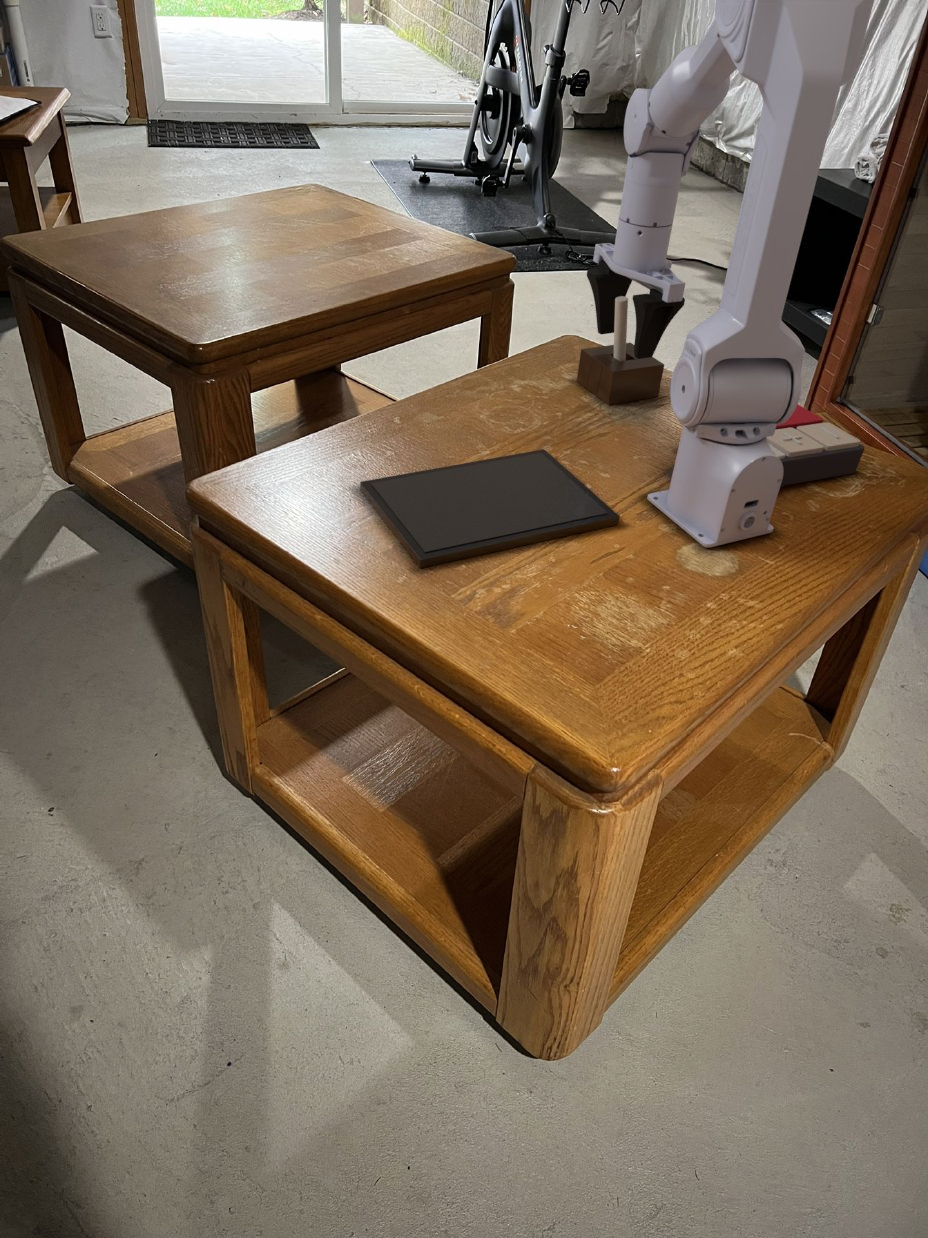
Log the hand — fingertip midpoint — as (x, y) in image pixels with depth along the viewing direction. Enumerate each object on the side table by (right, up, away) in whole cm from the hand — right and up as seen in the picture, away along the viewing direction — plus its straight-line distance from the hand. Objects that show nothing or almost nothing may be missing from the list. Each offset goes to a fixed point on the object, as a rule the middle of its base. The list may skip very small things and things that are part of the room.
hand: (624, 344), depth 107 cm
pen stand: (0, -4, +3) cm, 5 cm away
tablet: (-16, -21, -20) cm, 33 cm away
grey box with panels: (+13, -15, -9) cm, 22 cm away
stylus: (0, -4, +3) cm, 5 cm away
